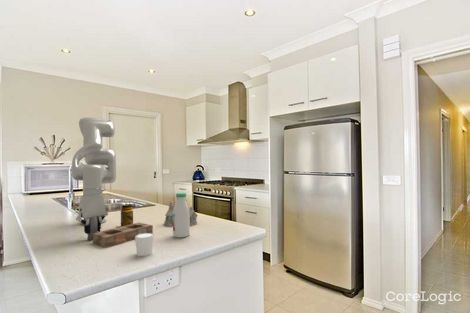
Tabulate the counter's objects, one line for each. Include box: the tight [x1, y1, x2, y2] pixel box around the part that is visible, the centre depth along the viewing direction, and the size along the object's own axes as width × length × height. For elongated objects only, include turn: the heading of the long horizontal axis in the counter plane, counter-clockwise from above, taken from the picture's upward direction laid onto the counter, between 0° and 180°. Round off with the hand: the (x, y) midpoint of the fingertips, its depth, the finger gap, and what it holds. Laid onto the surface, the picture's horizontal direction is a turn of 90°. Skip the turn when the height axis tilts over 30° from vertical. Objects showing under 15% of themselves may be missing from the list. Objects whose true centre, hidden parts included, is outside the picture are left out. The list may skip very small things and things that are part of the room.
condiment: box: [115, 203, 134, 228], centre depth 137 cm, size 7×8×12 cm
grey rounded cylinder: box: [87, 216, 98, 242], centre depth 117 cm, size 4×4×12 cm
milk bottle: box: [172, 192, 191, 238], centre depth 121 cm, size 8×8×20 cm
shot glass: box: [134, 233, 155, 257], centre depth 99 cm, size 7×7×7 cm
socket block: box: [92, 222, 154, 248], centre depth 118 cm, size 11×23×4 cm, turn 146°
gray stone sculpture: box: [163, 200, 198, 228], centre depth 143 cm, size 16×16×15 cm
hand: (92, 231), depth 117 cm, fingers closed on grey rounded cylinder, 4 cm apart
